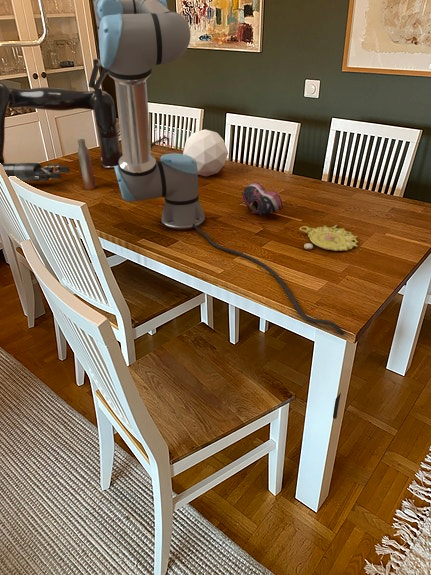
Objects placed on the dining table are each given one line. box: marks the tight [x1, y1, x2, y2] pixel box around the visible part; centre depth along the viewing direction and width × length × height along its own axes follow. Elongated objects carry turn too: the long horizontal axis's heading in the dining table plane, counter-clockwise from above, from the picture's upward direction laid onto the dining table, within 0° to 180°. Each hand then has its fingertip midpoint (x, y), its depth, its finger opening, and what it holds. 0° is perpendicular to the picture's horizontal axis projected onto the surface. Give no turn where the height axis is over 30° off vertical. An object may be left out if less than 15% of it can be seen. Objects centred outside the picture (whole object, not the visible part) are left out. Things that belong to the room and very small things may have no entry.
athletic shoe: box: [238, 182, 284, 217], centre depth 160 cm, size 11×22×12 cm
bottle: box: [77, 138, 96, 191], centre depth 183 cm, size 5×5×20 cm
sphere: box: [182, 128, 229, 177], centre depth 194 cm, size 19×20×20 cm
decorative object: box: [299, 224, 359, 252], centre depth 141 cm, size 21×2×20 cm
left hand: (64, 172), depth 186 cm, fingers open, 8 cm apart
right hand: (119, 108), depth 165 cm, fingers open, 13 cm apart
